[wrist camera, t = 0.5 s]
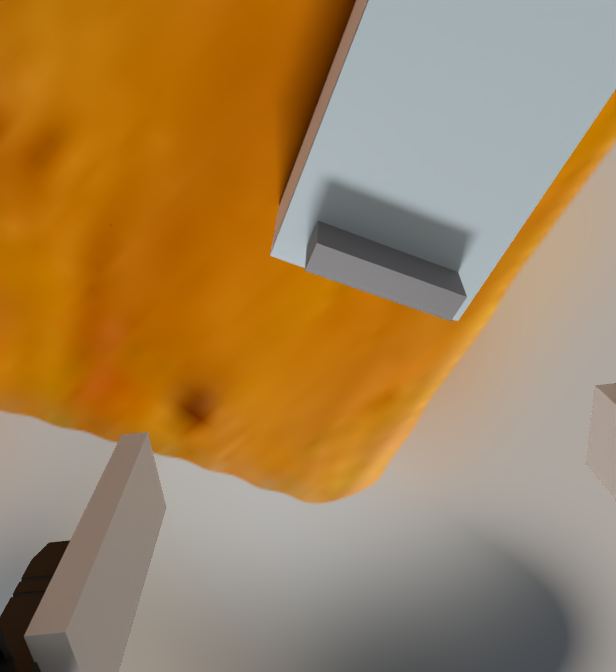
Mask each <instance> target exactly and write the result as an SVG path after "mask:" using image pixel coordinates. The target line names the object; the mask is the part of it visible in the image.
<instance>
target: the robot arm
mask: <svg viewBox="0 0 616 672" xmlns="http://www.w3.org/2000/svg"><path fill="white" fill-rule="evenodd" d="M586 464H587V466H588V467H589V468H590V469H591V470H592V472H593V473H594V474H595V475H596V477H597V478H598V479H599V480H600V481H601V483H602V484H603V485H604V486H605V487H606V488H607V490H608V491H609V492H610V493H611V495H612V496H613V497H614V498H615V499H616V383H614V384H605V385H596V386H595V390H594V399H593V406H592V415H591V424H590V432H589V440H588V448H587V456H586ZM165 510H166V505H165V500H164V497H163V492H162V488H161V484H160V480H159V476H158V472H157V468H156V464H155V460H154V456H153V452H152V447H151V443H150V439H149V435H148V432H145V433H135V434H126V435H121V437H120V439H119V441H118V443H117V446H116V448H115V450H114V452H113V454H112V456H111V458H110V460H109V462H108V464H107V466H106V468H105V470H104V472H103V474H102V476H101V478H100V480H99V483H98V485H97V487H96V489H95V491H94V493H93V495H92V497H91V499H90V501H89V503H88V505H87V507H86V509H85V511H84V514H83V515H82V518H81V520H80V522H79V524H78V526H77V528H76V530H75V532H74V534H73V536H72V538H71V540H70V541H61V542H51V543H48V544H47V545H46V546H45V547H44V548H43V549H42V550H41V551H40V552H39V553H38V554H37V555H36V556H35V557H34V558H33V559H32V560H31V562H30V564H29V565H28V567H27V569H26V571H25V573H24V575H23V577H22V581H21V582H19V584H18V586H17V587H16V589H15V591H14V593H13V597H11V598H10V600H9V602H8V604H7V605H6V607H5V609H4V611H3V613H2V615H1V616H0V672H119V668H120V665H121V662H122V658H123V655H124V651H125V647H126V644H127V641H128V637H129V634H130V631H131V627H132V624H133V620H134V617H135V613H136V610H137V606H138V603H139V599H140V596H141V592H142V589H143V586H144V582H145V579H146V575H147V572H148V568H149V565H150V561H151V558H152V554H153V551H154V547H155V544H156V541H157V537H158V534H159V530H160V527H161V524H162V520H163V517H164V513H165Z"/></svg>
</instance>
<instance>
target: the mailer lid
mask: <svg viewBox="0 0 616 672" xmlns="http://www.w3.org/2000/svg"><path fill="white" fill-rule="evenodd" d="M615 89H616V0H368V1H367V3H366V6H365V8H364V11H363V14H362V16H361V19H360V21H359V24H358V26H357V29H356V32H355V34H354V37H353V39H352V42H351V45H350V47H349V50H348V52H347V55H346V58H345V60H344V63H343V65H342V68H341V71H340V73H339V76H338V78H337V81H336V84H335V86H334V89H333V91H332V94H331V97H330V99H329V102H328V104H327V107H326V110H325V112H324V115H323V117H322V120H321V122H320V125H319V128H318V130H317V133H316V135H315V138H314V141H313V143H312V146H311V148H310V151H309V154H308V156H307V159H306V161H305V164H304V167H303V169H302V172H301V174H300V177H299V180H298V182H297V185H296V187H295V190H294V193H293V195H292V198H291V200H290V203H289V206H288V208H287V211H286V213H285V216H284V218H283V221H282V224H281V226H280V229H279V231H278V234H277V237H276V239H275V242H274V244H273V247H272V250H271V253H270V256H272V257H275V258H278V259H281V260H284V261H286V262H289V263H292V264H295V265H298V266H301V267H304V268H305V271H307V272H310V273H313V274H316V275H319V276H322V277H325V278H328V279H331V280H333V281H336V282H339V283H342V284H345V285H348V286H351V287H354V288H356V289H359V290H362V291H365V292H368V293H371V294H374V295H377V296H379V297H382V298H385V299H388V300H391V301H394V302H397V303H400V304H402V305H405V306H408V307H411V308H414V309H417V310H420V311H423V312H426V313H428V314H431V315H434V316H437V317H440V318H443V319H446V320H449V321H451V320H452V319H453V320H456V321H458V320H459V319H460V317H461V316H462V314H463V313H464V312H465V310H466V309H467V307H468V306H469V304H470V303H471V301H472V300H473V298H474V297H475V295H476V294H477V292H478V291H479V289H480V288H481V286H482V285H483V284H484V282H485V281H486V279H487V278H488V276H489V275H490V273H491V272H492V270H493V269H494V267H495V266H496V264H497V263H498V261H499V260H500V259H501V257H502V256H503V254H504V253H505V251H506V250H507V248H508V247H509V245H510V244H511V242H512V241H513V239H514V238H515V236H516V235H517V233H518V232H519V231H520V229H521V228H522V226H523V225H524V223H525V222H526V220H527V219H528V217H529V216H530V214H531V213H532V211H533V210H534V208H535V207H536V206H537V204H538V203H539V201H540V200H541V198H542V197H543V195H544V194H545V192H546V191H547V189H548V188H549V186H550V185H551V183H552V182H553V180H554V179H555V178H556V176H557V175H558V173H559V172H560V170H561V169H562V167H563V166H564V164H565V163H566V161H567V160H568V158H569V157H570V155H571V154H572V153H573V151H574V150H575V148H576V147H577V145H578V144H579V142H580V141H581V139H582V138H583V136H584V135H585V133H586V132H587V130H588V129H589V128H590V126H591V125H592V123H593V122H594V120H595V119H596V117H597V116H598V114H599V113H600V111H601V110H602V108H603V107H604V105H605V104H606V102H607V101H608V100H609V98H610V97H611V95H612V94H613V92H614V91H615Z"/></svg>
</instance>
